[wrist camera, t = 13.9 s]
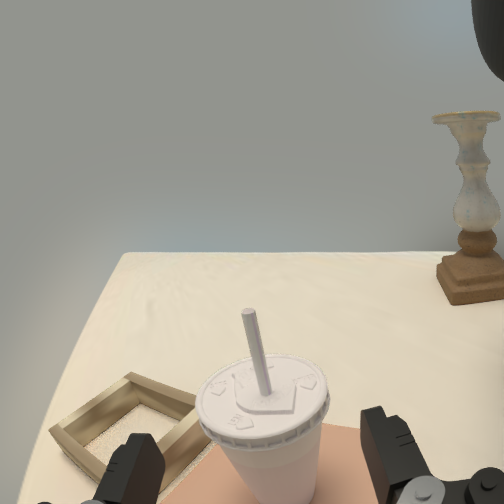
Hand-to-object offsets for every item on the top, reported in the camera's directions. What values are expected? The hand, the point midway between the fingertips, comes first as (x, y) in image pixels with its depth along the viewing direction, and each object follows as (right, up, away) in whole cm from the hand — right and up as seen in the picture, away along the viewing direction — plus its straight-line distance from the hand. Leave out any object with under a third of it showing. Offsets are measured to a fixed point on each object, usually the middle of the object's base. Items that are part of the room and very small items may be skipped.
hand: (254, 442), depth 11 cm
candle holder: (+32, +2, +28) cm, 43 cm away
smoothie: (+2, -9, +6) cm, 11 cm away
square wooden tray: (-10, -10, +13) cm, 19 cm away
